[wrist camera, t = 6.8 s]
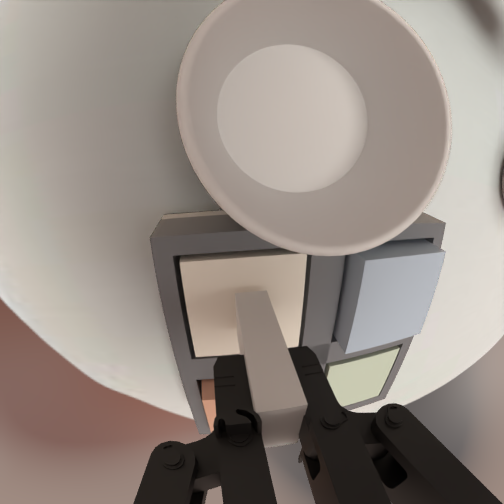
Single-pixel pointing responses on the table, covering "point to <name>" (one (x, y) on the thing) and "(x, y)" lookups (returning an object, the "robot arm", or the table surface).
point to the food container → (314, 121)
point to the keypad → (240, 239)
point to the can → (503, 183)
